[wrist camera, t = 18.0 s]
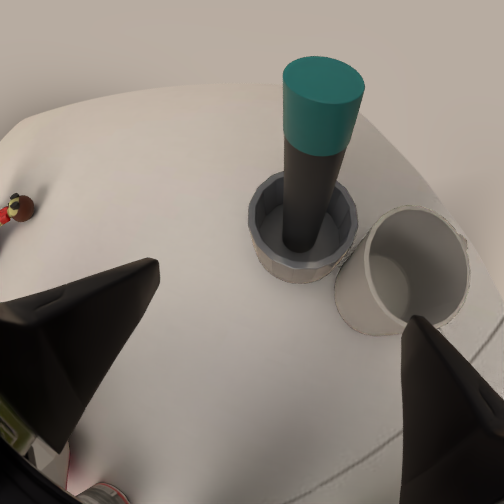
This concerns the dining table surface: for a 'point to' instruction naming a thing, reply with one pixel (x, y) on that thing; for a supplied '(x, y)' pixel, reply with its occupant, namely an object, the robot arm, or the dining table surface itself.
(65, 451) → the decorative object
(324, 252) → the pen tin
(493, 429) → the robot arm
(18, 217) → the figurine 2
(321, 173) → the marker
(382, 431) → the dining table surface
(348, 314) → the cup
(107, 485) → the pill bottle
